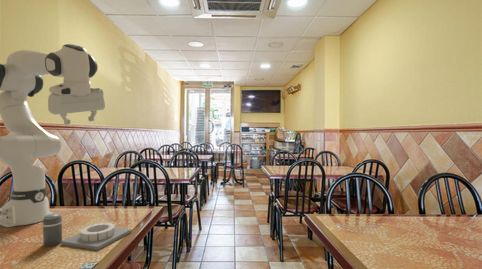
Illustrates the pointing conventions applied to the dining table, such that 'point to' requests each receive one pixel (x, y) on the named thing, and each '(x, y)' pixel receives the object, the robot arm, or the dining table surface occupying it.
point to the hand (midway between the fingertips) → (79, 122)
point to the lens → (52, 230)
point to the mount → (96, 236)
